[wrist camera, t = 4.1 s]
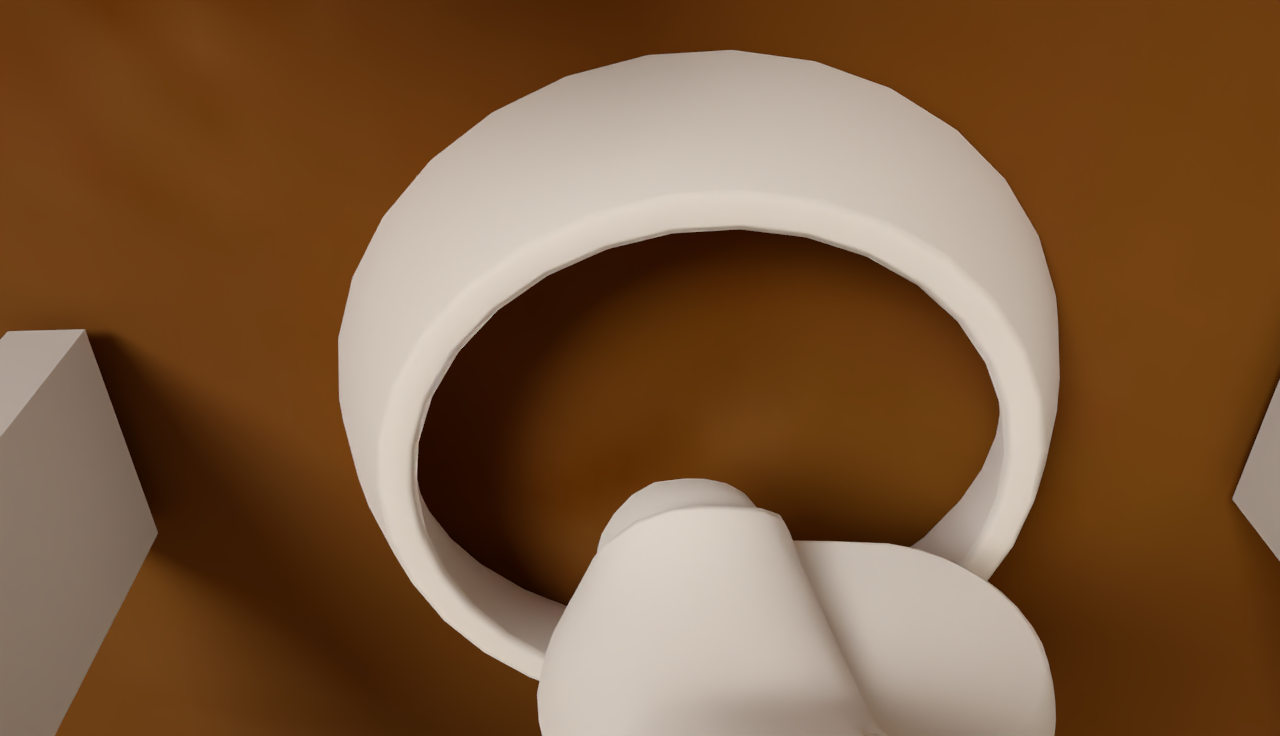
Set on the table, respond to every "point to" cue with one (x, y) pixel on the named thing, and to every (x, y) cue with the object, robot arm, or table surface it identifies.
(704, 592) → the hook
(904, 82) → the table surface
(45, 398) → the robot arm
